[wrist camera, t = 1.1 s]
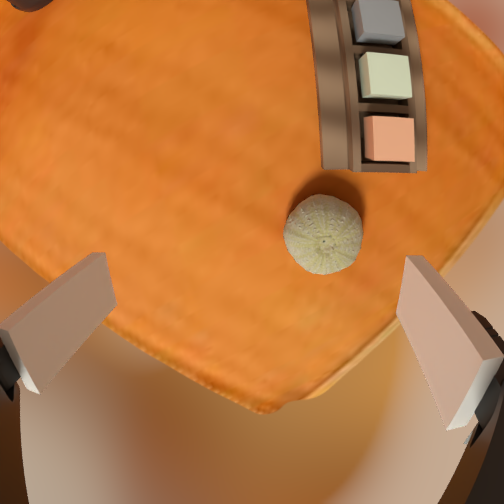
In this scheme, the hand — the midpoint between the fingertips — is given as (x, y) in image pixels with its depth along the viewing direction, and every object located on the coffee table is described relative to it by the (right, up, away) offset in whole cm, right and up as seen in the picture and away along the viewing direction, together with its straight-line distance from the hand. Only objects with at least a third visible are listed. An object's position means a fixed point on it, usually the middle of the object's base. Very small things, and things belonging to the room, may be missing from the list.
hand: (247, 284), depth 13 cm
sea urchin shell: (+9, +4, +24) cm, 26 cm away
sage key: (+13, +18, +12) cm, 25 cm away
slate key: (+12, +24, +10) cm, 28 cm away
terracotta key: (+13, +13, +14) cm, 23 cm away
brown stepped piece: (+13, +23, +16) cm, 30 cm away
